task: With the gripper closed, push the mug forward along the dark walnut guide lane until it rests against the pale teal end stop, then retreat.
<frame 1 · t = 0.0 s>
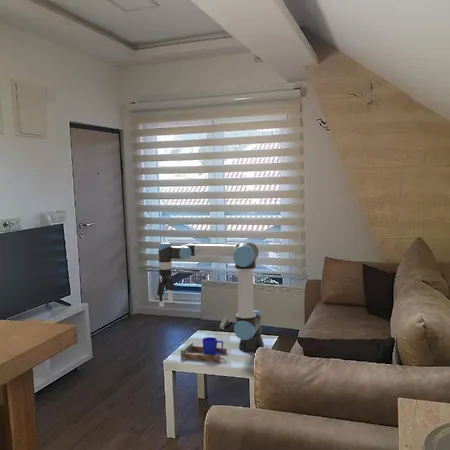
hand: (166, 303, 283), 28 cm above the table, fingers open, 13 cm apart
mug: (213, 356, 272), on the table
lane: (204, 355, 273), on the table
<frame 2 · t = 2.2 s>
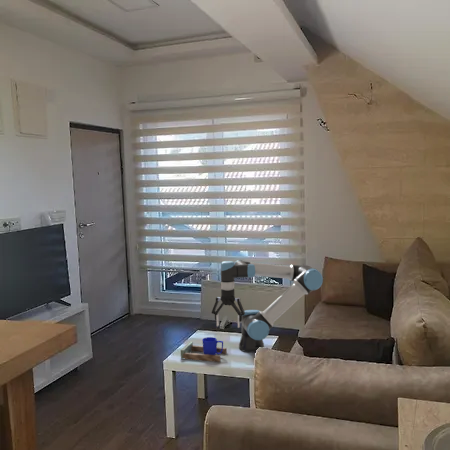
hand: (228, 326, 268), 18 cm above the table, fingers open, 12 cm apart
nothing on the table moved.
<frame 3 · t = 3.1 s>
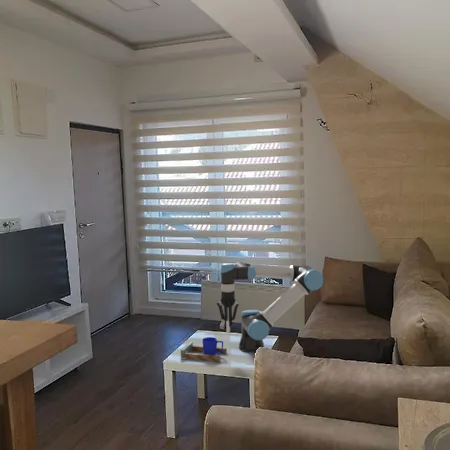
hand: (228, 331, 268), 15 cm above the table, fingers closed
nothing on the table moved.
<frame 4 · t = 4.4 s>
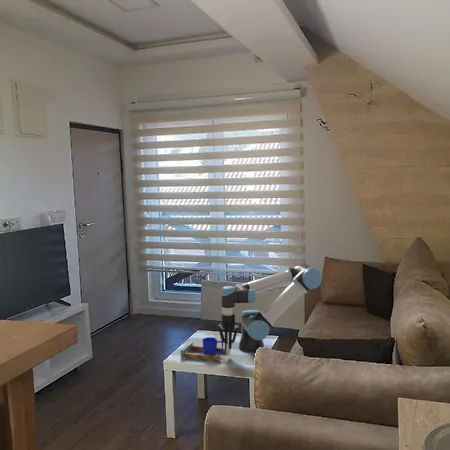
hand: (228, 354, 269), 2 cm above the table, fingers closed
mug: (213, 356, 272), on the table, touching gripper, hand
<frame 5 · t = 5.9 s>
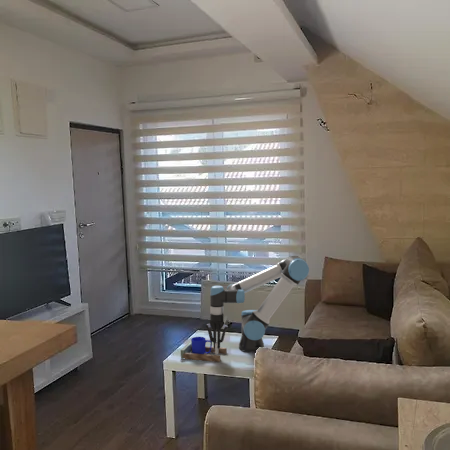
hand: (216, 353, 271), 2 cm above the table, fingers closed
mug: (201, 356, 273), on the table, touching gripper, hand
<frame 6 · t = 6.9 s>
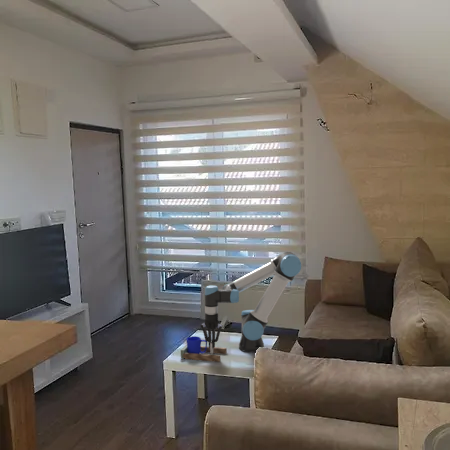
hand: (211, 353, 272), 2 cm above the table, fingers closed
mug: (197, 355, 274), on the table, touching gripper, hand, lane
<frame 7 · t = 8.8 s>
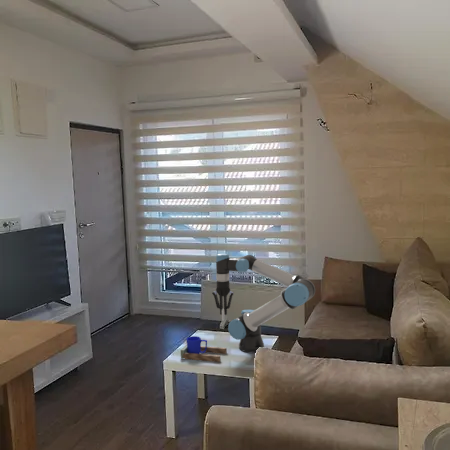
hand: (223, 319, 278), 19 cm above the table, fingers closed
mug: (197, 355, 274), on the table
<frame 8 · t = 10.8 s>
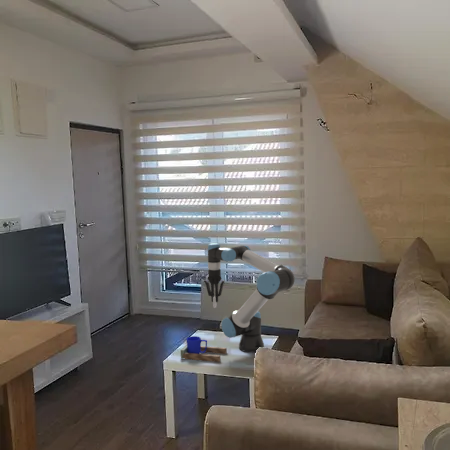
hand: (215, 307, 287), 24 cm above the table, fingers closed
nothing on the table moved.
at the end: mug 0.9 cm from the target spot, on the table; mug tilted 0°; mug moved 9.6 cm from its start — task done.
